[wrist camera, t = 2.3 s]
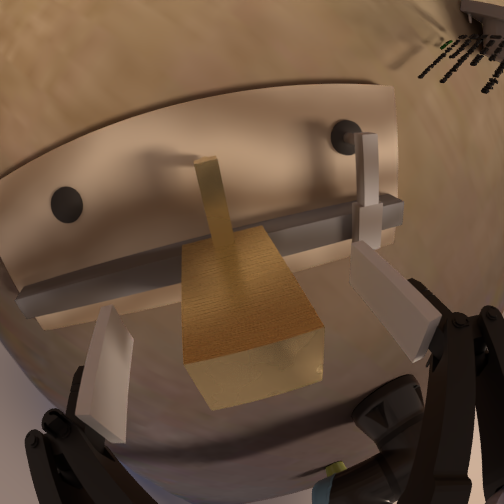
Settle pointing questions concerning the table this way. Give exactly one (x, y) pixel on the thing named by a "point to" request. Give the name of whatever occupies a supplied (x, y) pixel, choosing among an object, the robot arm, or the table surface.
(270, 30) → the table surface
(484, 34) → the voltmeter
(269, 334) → the brass sliding point
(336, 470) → the plant pot
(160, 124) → the gauge board
